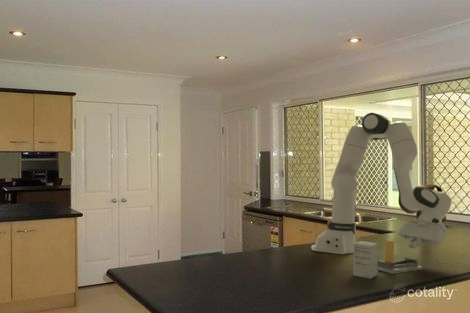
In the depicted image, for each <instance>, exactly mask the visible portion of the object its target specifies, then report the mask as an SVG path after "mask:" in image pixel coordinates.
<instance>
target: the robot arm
mask: <svg viewBox="0 0 470 313" xmlns="http://www.w3.org/2000/svg"><path fill="white" fill-rule="evenodd" d="M371 140H372V141H381V140H382V141H383V140H387V141H388V145H389V147H390V149H391V155H392V159H393V171H394V176H395V181H396V185H397V190H398V201H397V202H398V205H399V208H400V209H401V211H403V212H404V213H407V214H410V215H411V214H416V212H417V211H419V210H421V211H422V213H421V214H420V216H419V217H418V219H417V218H416V220H415V221H414V220H409V221H406V222H405V223H404V224H403V225H402V226H401V227H400V228H399V229H398V231H397V233H398V235H399V236H400V238H401V239H406V240H409V243H408V248H409V249H414V250H416V249H417V248H418V247H419V246H421V245H423V243H424V244H425V243H426V244H429V245H434V246H439V245H441V244H442V243H443V242H444V239H445V238H446V234H447V233H448V232H449V230H448V228H447V226H446V225H445V224H444V223H443V222H442V219H443V218H444V217H445V216H446V217H447V215H448V212H449V211H450V209H451V206H452V199H451V197H450V196H449V195H448V194H447V193H445V192H443V191H442V192H438V191H436V190H435V189H434V190H431V189H430V188H429V187H427V186H424V185H425V184H422V185H421V184H420V185H417V186H415V187H413V186H412V180H411V177H410V170H411V167H412V165H413V163H414V162H415V159H417V156H418V148H417V147H418V146H417V143H416V140H415V137H414V135H413V133H412V130H411V129H410V127H409V126H408V124H407V123H406V122H404V121H401V120H398V121H394V122H391V120H390V119H388V118H387V117H386V116H385V115H382V114H381V113H378V112H369V113H366V114H365V115H364V117H363V118H362V120H361V124H356V125H353V126H351V127H350V129H349V130H348V132H347V135H346V137H345V141H344V142H343V147H342V150H341V153H340V157H339V159H338V161H337V164H336V168H335V170H334V173H333V175H332V179H331V182H330V183H331V184H330V185H331V188H332V189H333V197H332V206H331V208H332V209H331V220H330V221H327V222H326V224H327V229H325V230H324V231H323V232H321V233H320V234H319V235H318V236H317V237H316V240H315V244H312V245H311V247H310V248H311V251H314V252H321V253H327V254H328V253H331V254H338V255H347V254H353V252H354V243H356V238H355V237H356V236H355V235H356V231H357V230H356V223H355V213H356V212H355V210H356V202H357V201H356V200H357V190H358V181H357V179H356V178H357V175H358V173H359V171H360V169H361V167H362V165H363V161H364V158H365V154H366V152H367V148H368V144H369V142H370V141H371Z"/></svg>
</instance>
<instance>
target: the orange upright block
mask: <svg viewBox="0 0 470 313" xmlns="http://www.w3.org/2000/svg"><path fill="white" fill-rule="evenodd" d="M384 242H385V245H384V246H385V250H384V253H385V254H384V256H385V258H384V262H387V263H391V265H396V263H395V262H394V260H395V259H394V258H395V254H394V252H395V250H394V249H395V241H394V240H391V239H385V241H384Z"/></svg>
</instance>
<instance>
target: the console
mask: <svg viewBox="0 0 470 313" xmlns="http://www.w3.org/2000/svg"><path fill="white" fill-rule="evenodd" d="M418 261H419V260H418V259H415V258H411V257H408V256H404V260H403V259H402V260H395V261H394V262H395V263H396V265H391V263H387V262H385V260H380V259H378V271H381V272H385V273H388V274H391V275H394V274H401V273H408V272H409V273H410V272H416V271H422V270H423V269H424V268H423V266H422V265H419V264H418Z"/></svg>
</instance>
